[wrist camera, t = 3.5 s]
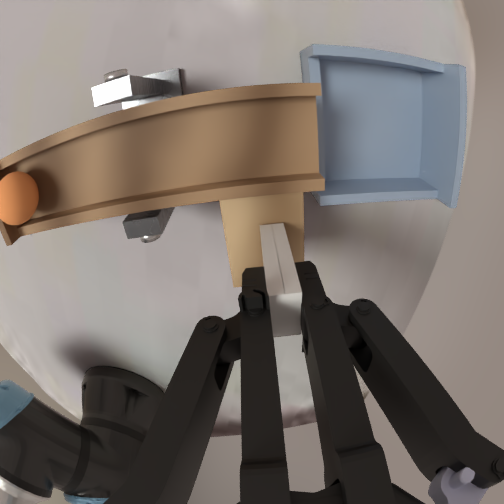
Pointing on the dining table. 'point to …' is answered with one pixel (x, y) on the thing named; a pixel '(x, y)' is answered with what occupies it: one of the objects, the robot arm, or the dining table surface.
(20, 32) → the dining table surface
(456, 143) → the tray
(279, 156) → the lever
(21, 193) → the ball
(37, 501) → the robot arm
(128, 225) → the stand
